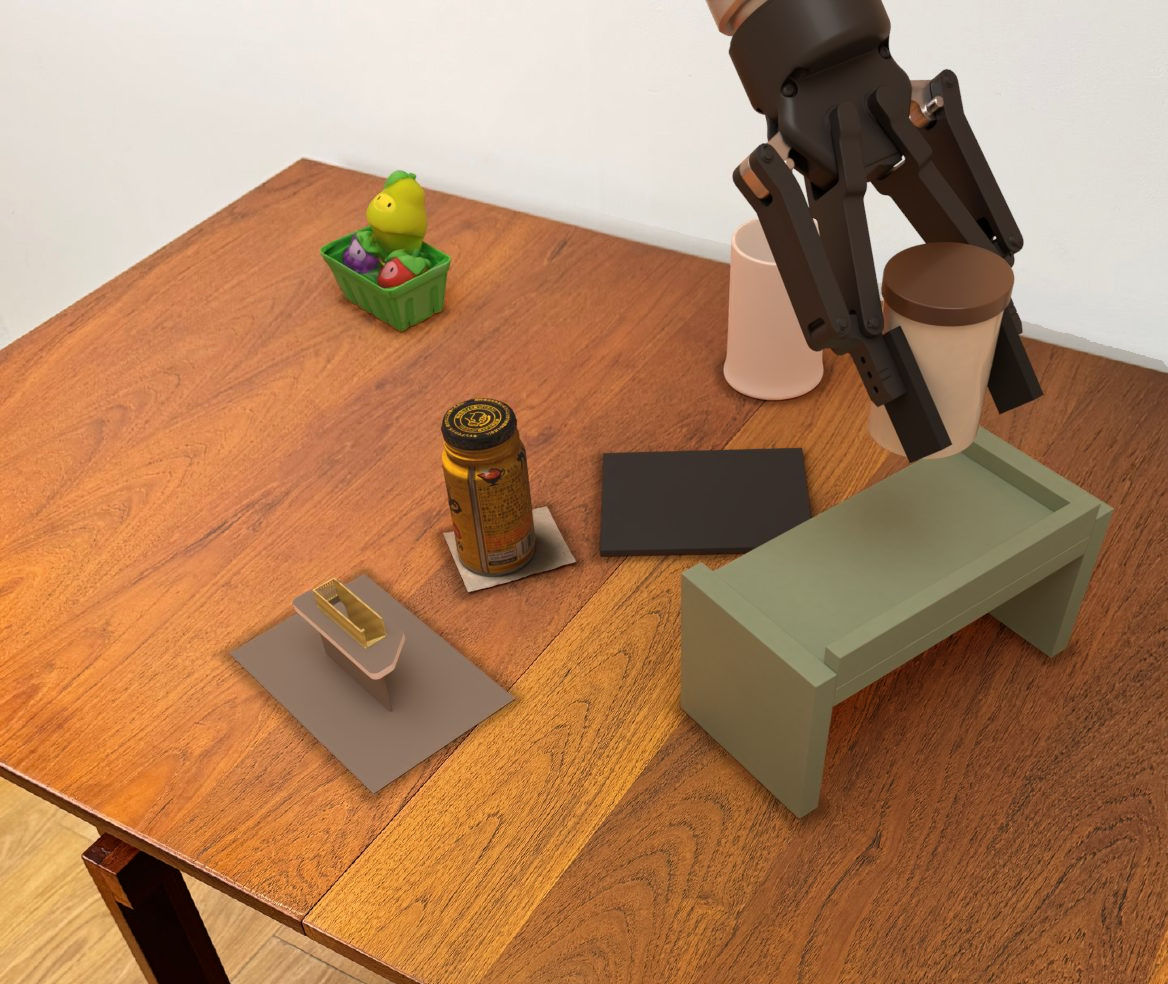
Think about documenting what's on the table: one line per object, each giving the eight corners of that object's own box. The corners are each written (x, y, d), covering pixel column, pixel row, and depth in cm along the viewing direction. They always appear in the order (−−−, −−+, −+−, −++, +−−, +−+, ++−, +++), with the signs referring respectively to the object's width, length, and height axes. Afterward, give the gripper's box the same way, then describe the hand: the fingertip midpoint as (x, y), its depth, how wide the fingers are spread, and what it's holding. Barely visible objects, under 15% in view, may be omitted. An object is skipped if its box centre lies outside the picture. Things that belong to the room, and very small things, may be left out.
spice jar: (971, 390, 72) (1002, 238, 65) (990, 460, 67) (1026, 305, 61) (857, 394, 72) (876, 243, 65) (870, 463, 68) (891, 310, 61)
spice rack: (939, 557, 92) (972, 402, 82) (1066, 648, 86) (1120, 491, 76) (679, 707, 85) (680, 556, 74) (799, 819, 78) (817, 671, 68)
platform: (364, 573, 95) (346, 504, 90) (515, 698, 86) (505, 629, 81) (228, 653, 90) (202, 584, 85) (373, 794, 81) (353, 726, 76)
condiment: (443, 535, 97) (418, 401, 88) (547, 507, 99) (533, 373, 89) (468, 594, 93) (445, 460, 83) (576, 565, 94) (566, 430, 85)
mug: (835, 329, 112) (850, 196, 103) (874, 381, 107) (893, 246, 98) (710, 355, 111) (713, 223, 101) (743, 409, 105) (750, 274, 96)
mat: (801, 453, 101) (802, 447, 101) (814, 551, 94) (814, 545, 93) (603, 458, 102) (603, 452, 102) (600, 556, 95) (599, 550, 94)
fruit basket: (326, 299, 120) (298, 181, 111) (399, 263, 124) (378, 146, 115) (398, 344, 115) (375, 223, 106) (472, 305, 118) (456, 185, 109)
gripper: (887, -7, 69) (1051, 383, 73) (608, 96, 63) (803, 517, 67) (977, -98, 62) (1152, 339, 66) (673, 9, 56) (886, 484, 60)
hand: (976, 428), depth 66 cm, fingers closed on spice jar, 6 cm apart
